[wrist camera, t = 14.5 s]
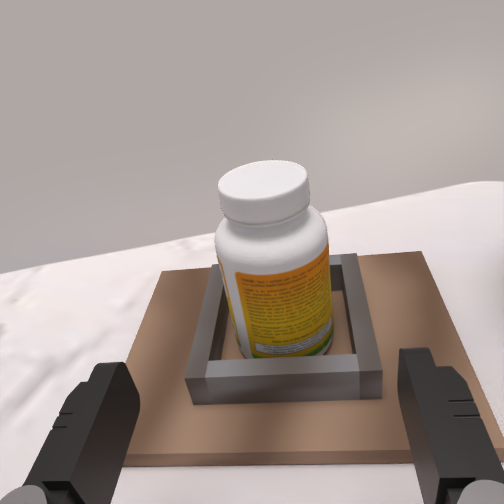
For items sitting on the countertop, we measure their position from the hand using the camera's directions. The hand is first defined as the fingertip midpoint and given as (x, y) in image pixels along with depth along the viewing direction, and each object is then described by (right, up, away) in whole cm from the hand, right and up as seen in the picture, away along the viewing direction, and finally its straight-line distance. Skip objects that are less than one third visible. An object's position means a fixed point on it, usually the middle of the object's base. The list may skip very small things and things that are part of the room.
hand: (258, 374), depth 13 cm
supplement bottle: (+2, -1, +12) cm, 12 cm away
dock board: (+2, -2, +12) cm, 13 cm away
